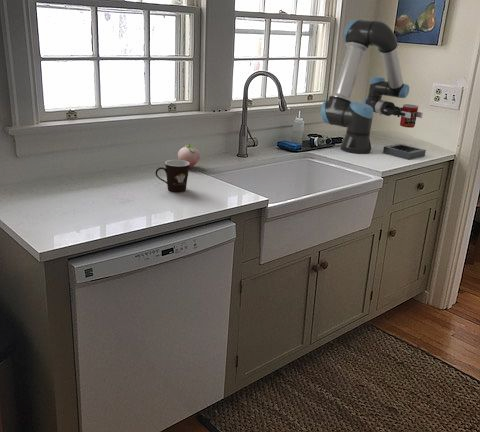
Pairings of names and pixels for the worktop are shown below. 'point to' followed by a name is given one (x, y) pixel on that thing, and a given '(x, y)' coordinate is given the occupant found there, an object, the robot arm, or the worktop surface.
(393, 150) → the square holder
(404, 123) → the canned food
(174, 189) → the coffee mug
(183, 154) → the decorative fruit
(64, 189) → the worktop surface
